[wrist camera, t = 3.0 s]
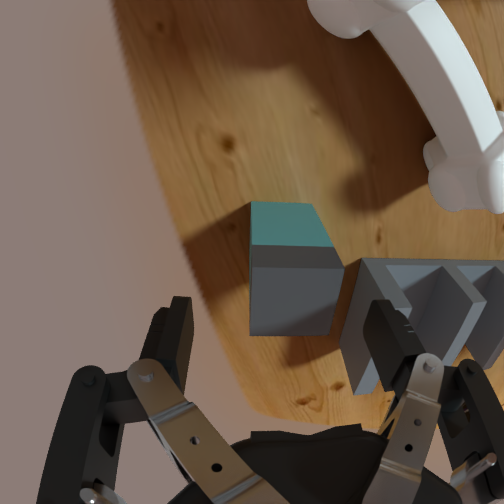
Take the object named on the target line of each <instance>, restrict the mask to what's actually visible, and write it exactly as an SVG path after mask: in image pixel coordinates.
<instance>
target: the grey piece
mask: <svg viewBox="0 0 504 504" xmlns="http://www.w3.org/2000/svg"><path fill="white" fill-rule="evenodd" d="M378 299H389V300H390V301H391V303H392V305H393V306H394V308H395V310H399V311H400V312H401V313H403V314H404V315H405V316H406V317H407V319H408V321H409V322H410V324H411V326H412V328H413V329H414V332H415V333H416V335H417V336H418V338H419V340H420V342H421V343H422V345H423V347H424V349H425V351H426V352H427V353H429V354H433V355H435V356H436V357H438V358H439V359H440V360H441V361H442V363H443V365H445V366H451V365H452V363H453V362H454V360H455V359H456V357H457V355H458V354H459V352H460V350H461V349H462V347H463V345H464V344H465V345H466V346H467V348H468V350H469V351H470V353H471V355H472V356H473V358H474V359H475V361H476V362H477V363H478V364H479V365H480V366H481V367H482V369H483V370H485V369H489V368H491V367H492V365H493V364H494V362H495V361H496V360H497V358H498V357H499V355H500V354H501V352H502V350H503V349H504V261H496V260H441V259H391V258H362V259H361V264H360V268H359V272H358V276H357V280H356V284H355V288H354V291H353V295H352V299H351V303H350V306H349V310H348V313H347V317H346V320H345V324H344V327H343V330H342V334H341V337H340V340H339V346H340V349H341V352H342V356H343V359H344V363H345V366H346V370H347V373H348V377H349V380H350V384H351V388H352V391H353V395H361V394H369V393H372V392H373V390H374V388H375V386H376V384H377V383H378V381H379V379H380V378H379V375H378V373H377V370H376V367H375V365H374V362H373V360H372V357H371V355H370V352H369V350H368V347H367V345H366V342H365V340H364V337H363V325H364V322H365V319H366V316H367V313H368V310H369V307H370V304H371V302H372V301H373V300H378Z"/></svg>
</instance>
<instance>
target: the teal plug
mask: <svg viewBox="0 0 504 504" xmlns="http://www.w3.org/2000/svg"><path fill="white" fill-rule="evenodd" d="M344 271H345V268H344V266H343V264H342V262H341V260H340V258H339V256H338V254H337V252H336V250H335V248H334V246H333V244H332V242H331V240H330V238H329V236H328V234H327V232H326V230H325V228H324V226H323V224H322V222H321V221H320V219H319V217H318V215H317V213H316V211H315V209H314V207H313V205H312V204H306V203H283V202H254V201H251V218H250V248H249V309H250V336H320V335H329V332H330V328H331V324H332V321H333V317H334V313H335V309H336V305H337V301H338V297H339V292H340V288H341V284H342V280H343V275H344Z"/></svg>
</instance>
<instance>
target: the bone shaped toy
mask: <svg viewBox="0 0 504 504" xmlns="http://www.w3.org/2000/svg"><path fill="white" fill-rule="evenodd" d="M307 4H308V7H309V10H310V12H311V14H312V15H313V17H314V18H315V19H316V21H317V22H318V23H319V24H320V25H321V26H322V27H323V28H324V29H325V30H327V31H328V32H330V33H331V34H333V35H335V36H337V37H340V38H346V39H351V38H355V37H358V36H359V35H361V34H362V33H363V32H365V31H367V30H368V29H369V30H370V31H371V33H372V34H373V35H374V37H375V38H376V39H377V41H378V42H379V43H380V45H381V46H382V47H383V49H384V50H385V51H386V53H387V54H388V56H389V57H390V58H391V60H392V61H393V63H394V64H395V66H396V67H397V69H398V70H399V72H400V73H401V75H402V76H403V78H404V79H405V81H406V83H407V84H408V86H409V87H410V89H411V91H412V92H413V94H414V96H415V97H416V99H417V101H418V103H419V104H420V106H421V108H422V110H423V111H424V113H425V115H426V117H427V119H428V121H429V122H430V124H431V126H432V128H433V130H434V132H435V134H436V137H435V138H433V139H432V140H431V141H428V142H427V143H426V144H425V145H424V148H423V156H424V160H425V163H426V166H427V168H428V170H429V174H428V185H429V189H430V192H431V194H432V196H433V198H434V199H435V201H436V202H437V203H438V204H439V205H440V206H441V207H442V208H444V209H445V210H448V211H451V212H457V211H460V210H462V209H488V210H489V211H490V212H491V213H494V214H500V213H503V212H504V112H502V111H495V108H494V106H493V103H492V101H491V98H490V96H489V94H488V91H487V89H486V87H485V85H484V82H483V80H482V78H481V76H480V74H479V72H478V70H477V68H476V66H475V64H474V62H473V60H472V58H471V56H470V54H469V53H468V51H467V49H466V47H465V45H464V44H463V42H462V40H461V39H460V37H459V35H458V33H457V32H456V30H455V29H454V27H453V25H452V24H451V22H450V21H449V19H448V18H447V16H446V15H445V13H444V12H443V10H442V9H441V7H440V6H439V4H438V3H437V2H436V0H307Z"/></svg>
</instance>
